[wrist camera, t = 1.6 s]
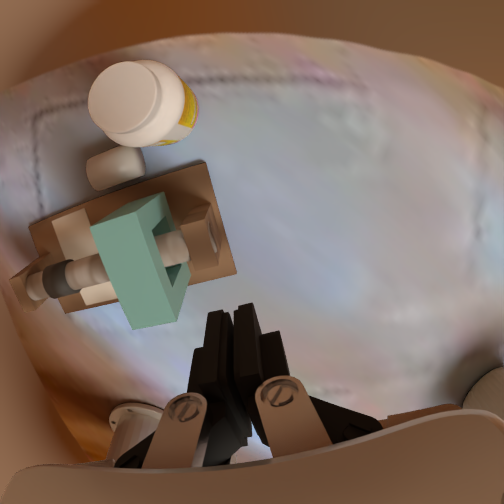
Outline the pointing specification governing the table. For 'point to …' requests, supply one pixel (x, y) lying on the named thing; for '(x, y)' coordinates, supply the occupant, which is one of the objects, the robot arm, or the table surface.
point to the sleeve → (115, 167)
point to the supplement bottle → (142, 104)
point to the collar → (141, 261)
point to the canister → (488, 393)
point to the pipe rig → (87, 256)
